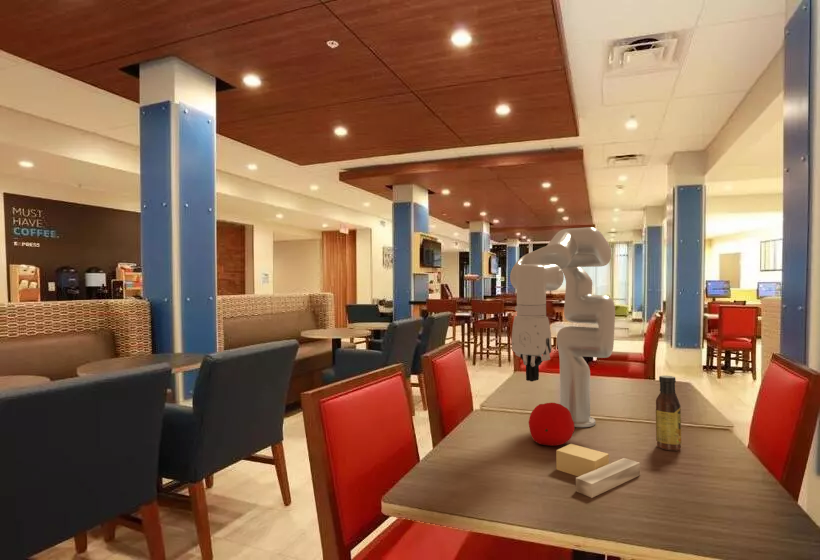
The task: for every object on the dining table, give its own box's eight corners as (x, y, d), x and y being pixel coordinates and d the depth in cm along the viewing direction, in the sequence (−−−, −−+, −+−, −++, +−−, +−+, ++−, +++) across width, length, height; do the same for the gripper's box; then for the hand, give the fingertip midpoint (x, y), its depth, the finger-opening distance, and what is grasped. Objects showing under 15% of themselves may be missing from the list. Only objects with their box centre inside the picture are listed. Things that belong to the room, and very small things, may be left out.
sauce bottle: (684, 452, 129) (684, 379, 129) (660, 451, 130) (659, 378, 131) (676, 444, 136) (676, 374, 136) (652, 443, 137) (652, 374, 137)
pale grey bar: (575, 491, 105) (575, 477, 106) (624, 469, 117) (624, 457, 117) (592, 497, 102) (592, 484, 102) (639, 475, 114) (639, 462, 114)
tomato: (548, 462, 130) (565, 449, 141) (574, 428, 126) (589, 418, 137) (513, 429, 137) (531, 419, 148) (536, 396, 133) (554, 388, 144)
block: (556, 470, 118) (556, 450, 118) (570, 463, 123) (570, 443, 123) (595, 482, 111) (595, 461, 111) (608, 474, 115) (608, 453, 115)
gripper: (500, 310, 129) (501, 377, 130) (545, 314, 117) (546, 387, 118) (518, 308, 134) (519, 373, 134) (564, 312, 122) (565, 383, 122)
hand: (532, 380), depth 126 cm, fingers closed
